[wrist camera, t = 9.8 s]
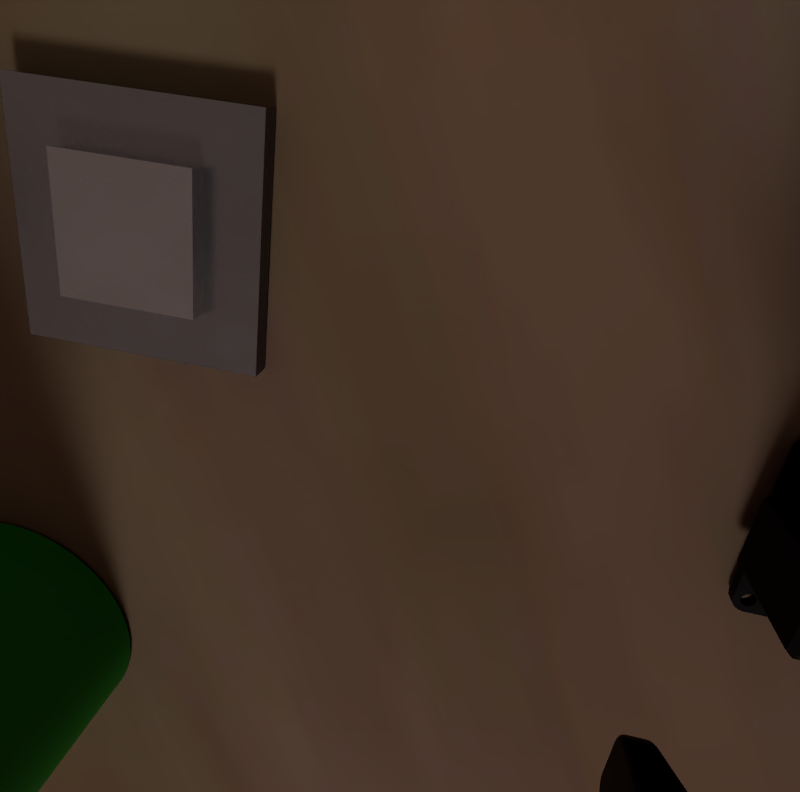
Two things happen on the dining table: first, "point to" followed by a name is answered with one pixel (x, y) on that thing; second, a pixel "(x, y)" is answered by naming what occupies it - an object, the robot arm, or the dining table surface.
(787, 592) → the robot arm
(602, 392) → the dining table surface
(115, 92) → the base
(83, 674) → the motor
